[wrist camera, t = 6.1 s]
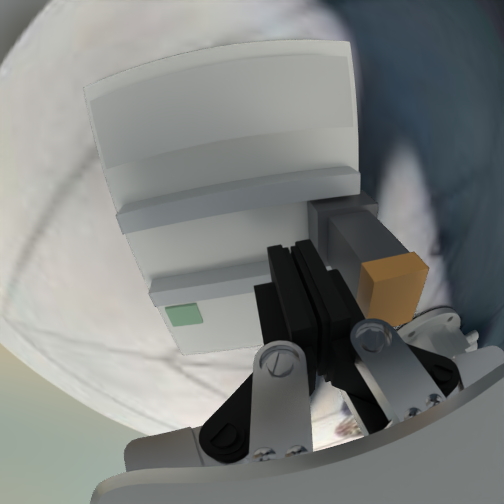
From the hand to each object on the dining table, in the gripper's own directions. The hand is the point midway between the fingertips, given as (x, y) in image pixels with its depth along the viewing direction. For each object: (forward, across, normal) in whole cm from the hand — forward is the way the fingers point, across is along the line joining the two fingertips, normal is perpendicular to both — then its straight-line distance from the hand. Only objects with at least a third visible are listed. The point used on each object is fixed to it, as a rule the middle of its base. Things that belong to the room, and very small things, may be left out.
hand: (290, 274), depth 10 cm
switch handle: (+4, -3, 0) cm, 5 cm away
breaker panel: (+6, +2, 0) cm, 6 cm away
